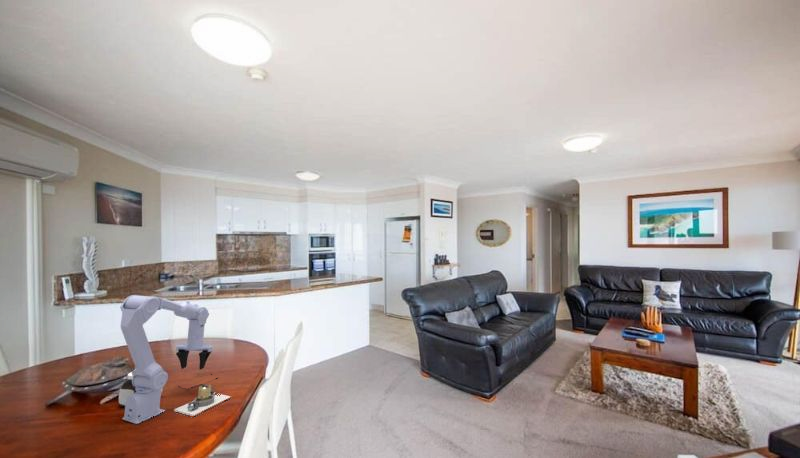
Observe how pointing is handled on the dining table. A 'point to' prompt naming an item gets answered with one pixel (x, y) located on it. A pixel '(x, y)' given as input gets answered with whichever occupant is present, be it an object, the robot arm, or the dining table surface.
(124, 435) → the dining table surface
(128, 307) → the robot arm
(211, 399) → the base plate
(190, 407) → the steel shaft
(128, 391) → the spread jar
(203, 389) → the cylinder
